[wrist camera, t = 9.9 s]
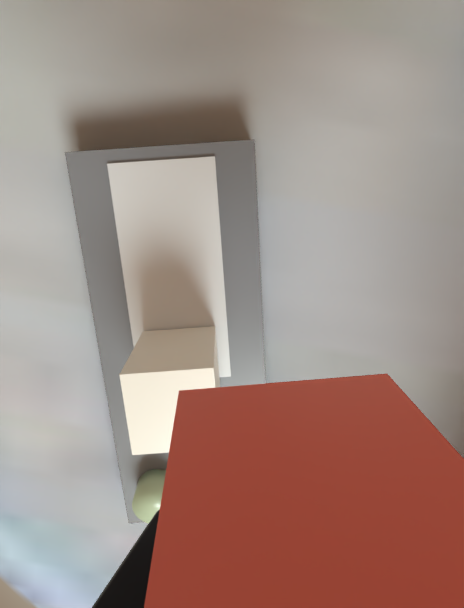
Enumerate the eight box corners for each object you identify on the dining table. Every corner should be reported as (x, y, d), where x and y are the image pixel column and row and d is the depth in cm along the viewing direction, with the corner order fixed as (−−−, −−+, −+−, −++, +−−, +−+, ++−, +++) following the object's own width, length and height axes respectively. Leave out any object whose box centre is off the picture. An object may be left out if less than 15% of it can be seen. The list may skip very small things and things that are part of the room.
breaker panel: (268, 490, 21) (275, 532, 18) (135, 500, 21) (122, 544, 18) (251, 143, 16) (257, 135, 14) (78, 155, 16) (51, 149, 14)
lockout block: (377, 535, 9) (570, 950, 4) (198, 551, 9) (180, 997, 4) (387, 373, 8) (675, 693, 3) (178, 390, 8) (120, 752, 3)
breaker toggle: (220, 390, 17) (220, 448, 14) (151, 396, 17) (132, 455, 13) (215, 326, 16) (213, 367, 13) (142, 331, 16) (119, 374, 13)
